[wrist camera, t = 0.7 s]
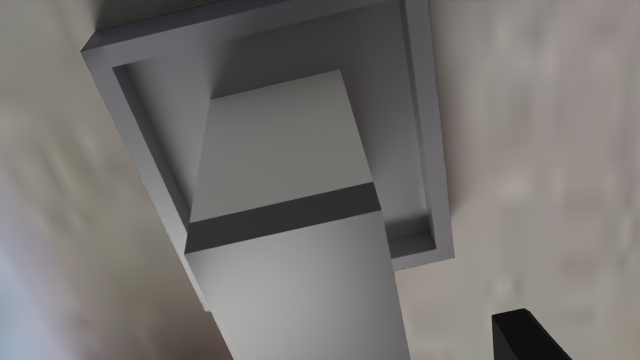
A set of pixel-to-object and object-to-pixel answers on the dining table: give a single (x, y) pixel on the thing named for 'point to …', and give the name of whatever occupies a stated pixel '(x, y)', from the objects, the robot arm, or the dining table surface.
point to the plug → (293, 228)
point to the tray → (273, 68)
